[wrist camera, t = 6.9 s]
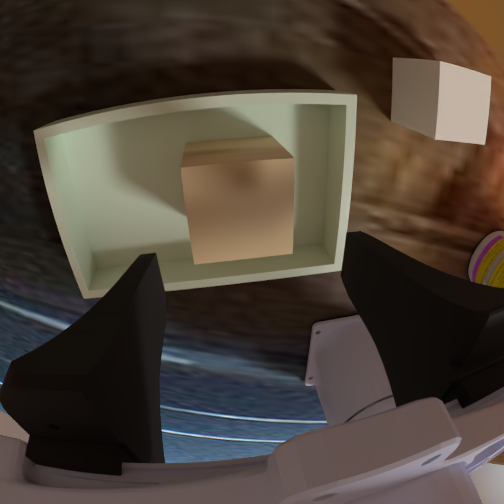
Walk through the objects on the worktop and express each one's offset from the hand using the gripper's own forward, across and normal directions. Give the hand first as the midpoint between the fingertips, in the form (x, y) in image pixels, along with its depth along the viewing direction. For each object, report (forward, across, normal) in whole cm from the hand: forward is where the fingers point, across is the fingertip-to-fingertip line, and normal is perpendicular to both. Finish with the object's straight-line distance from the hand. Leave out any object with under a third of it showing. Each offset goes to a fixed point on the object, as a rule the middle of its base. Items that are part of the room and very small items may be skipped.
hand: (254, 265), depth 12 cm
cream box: (+9, -13, -6) cm, 17 cm away
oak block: (+9, 0, 0) cm, 9 cm away
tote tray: (+9, +2, 0) cm, 9 cm away
